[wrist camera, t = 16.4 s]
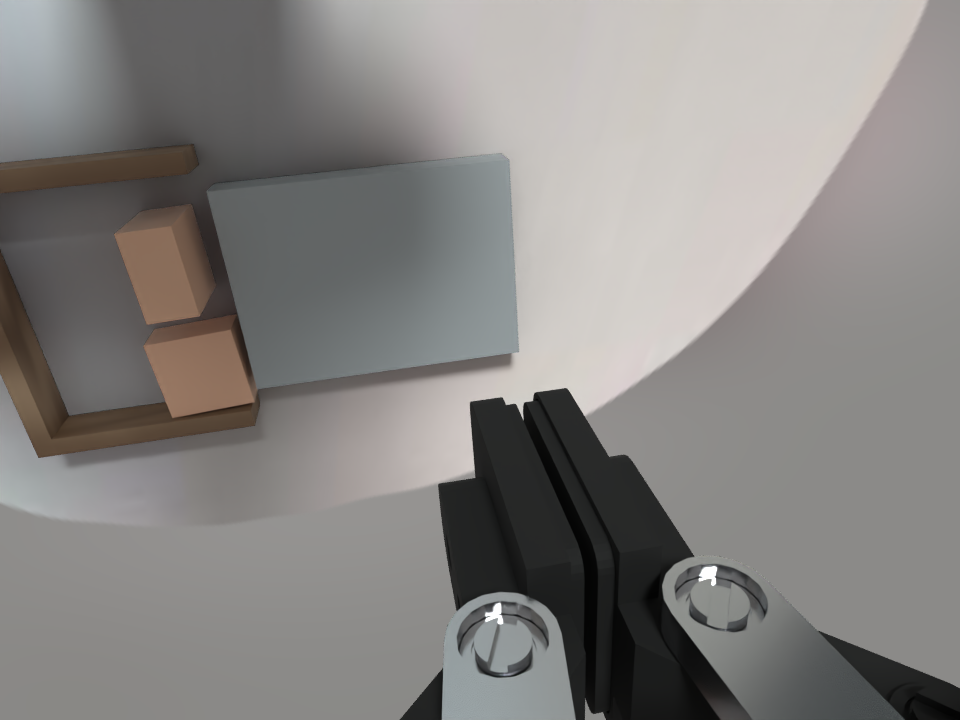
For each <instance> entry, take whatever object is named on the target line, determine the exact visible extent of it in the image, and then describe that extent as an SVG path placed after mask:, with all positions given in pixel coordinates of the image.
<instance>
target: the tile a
mask: <svg viewBox="0 0 960 720" xmlns="http://www.w3.org/2000/svg"><path fill="white" fill-rule="evenodd" d="M114 236H115V239H116V241H117V244H118V247H119V250H120V252H121V255H122V258H123V261H124V263H125V266H126V269H127V272H128V274H129V277H130V280H131V283H132V285H133V288H134V291H135V294H136V296H137V299H138V302H139V305H140V307H141V310H142V313H143V316H144V318H145V321H146V324H147V325H149V324H155V323H161V322H168V321H174V320H180V319H187V318H193V317H199V316H200V315H201V313H202V312H203V310H204V308H205V306H206V304H207V302H208V300H209V298H210V296H211V295H212V293H213V291H214V289H215V287H216V283H215V280H214V276H213V273H212V270H211V266H210V263H209V260H208V257H207V253H206V250H205V247H204V243H203V240H202V237H201V233H200V230H199V227H198V224H197V220H196V217H195V214H194V210H193V207H192V204H187V205H180V206H173V207H166V208H158V209H151V210H144V211H141V212H139V213H138V214H137V215H136V216H135V217H134V218H132V219H131V220H130V221H129V222H128V223H127V224H125V225H124V226H123V227H122V228H121V229H119V230H118V231H117V232H116V233H115V234H114Z"/></svg>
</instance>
